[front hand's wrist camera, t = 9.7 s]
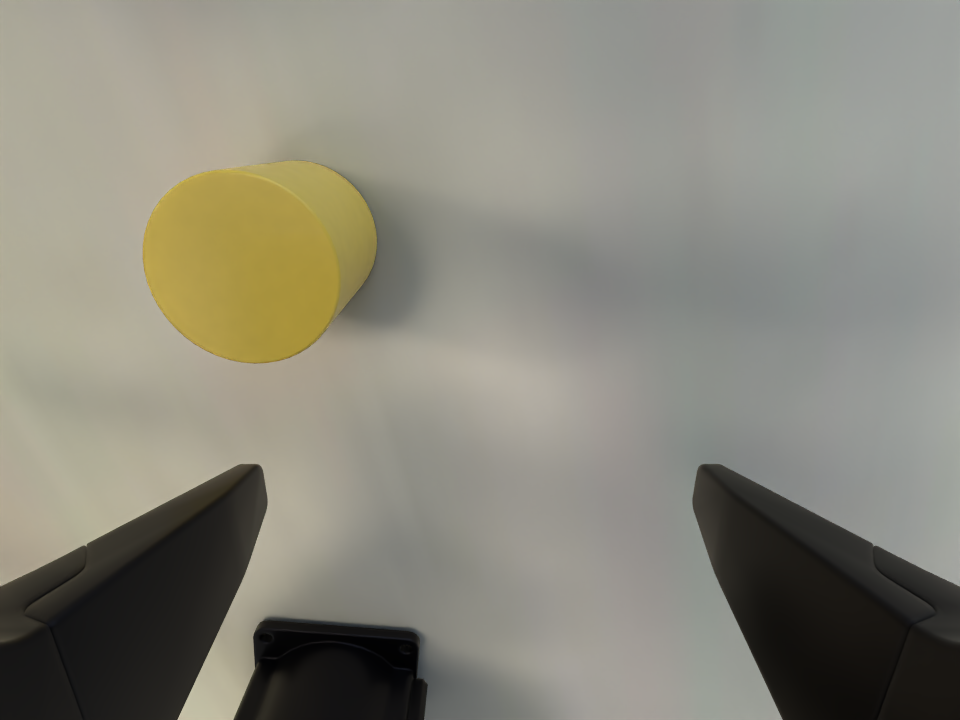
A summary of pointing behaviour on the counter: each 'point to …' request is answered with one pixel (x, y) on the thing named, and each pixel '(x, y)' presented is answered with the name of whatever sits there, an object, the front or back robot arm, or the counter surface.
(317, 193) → the cylinder
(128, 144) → the counter surface
